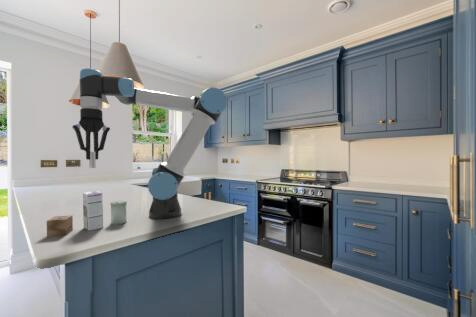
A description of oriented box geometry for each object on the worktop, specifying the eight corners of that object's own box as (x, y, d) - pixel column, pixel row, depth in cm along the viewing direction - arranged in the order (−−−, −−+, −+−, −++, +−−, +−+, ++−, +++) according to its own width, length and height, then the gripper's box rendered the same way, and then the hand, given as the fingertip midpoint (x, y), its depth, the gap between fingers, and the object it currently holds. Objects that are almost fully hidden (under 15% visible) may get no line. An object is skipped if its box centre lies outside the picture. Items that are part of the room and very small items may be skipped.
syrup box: (103, 227, 94) (103, 192, 94) (87, 231, 90) (86, 193, 89) (99, 224, 98) (98, 190, 98) (82, 228, 93) (82, 192, 93)
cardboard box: (72, 230, 91) (72, 215, 91) (66, 235, 85) (66, 219, 85) (54, 232, 89) (54, 216, 89) (46, 237, 83) (46, 220, 83)
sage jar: (129, 220, 105) (129, 200, 104) (122, 224, 98) (121, 203, 98) (116, 220, 105) (115, 200, 105) (107, 224, 98) (107, 203, 98)
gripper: (107, 112, 100) (108, 166, 101) (70, 108, 91) (71, 168, 92) (112, 109, 95) (113, 167, 95) (72, 105, 86) (73, 168, 86)
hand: (92, 167), depth 93 cm, fingers closed
